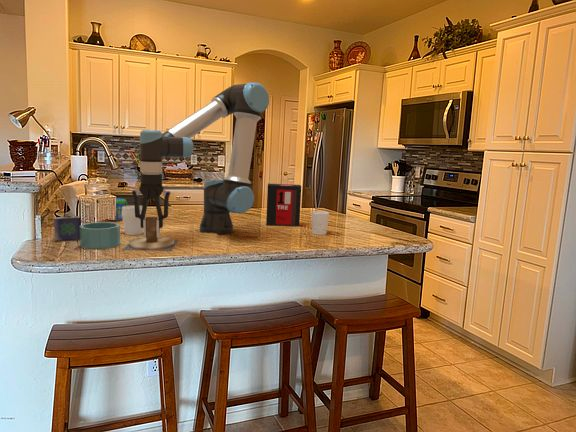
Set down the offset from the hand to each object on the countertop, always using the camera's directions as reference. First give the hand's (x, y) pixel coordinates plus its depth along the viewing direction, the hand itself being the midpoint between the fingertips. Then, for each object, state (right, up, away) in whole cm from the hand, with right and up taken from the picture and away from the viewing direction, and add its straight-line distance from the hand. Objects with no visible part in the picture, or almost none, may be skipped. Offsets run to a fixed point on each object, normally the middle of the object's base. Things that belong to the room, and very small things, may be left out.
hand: (151, 236), depth 158 cm
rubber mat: (0, -4, +1) cm, 4 cm away
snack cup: (-34, +5, +48) cm, 59 cm away
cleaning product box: (+48, +3, +58) cm, 75 cm away
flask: (-34, -2, +6) cm, 34 cm away
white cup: (+65, -1, +39) cm, 76 cm away
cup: (-13, -1, +18) cm, 22 cm away
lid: (0, -3, 0) cm, 3 cm away
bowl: (-18, -4, -2) cm, 18 cm away
